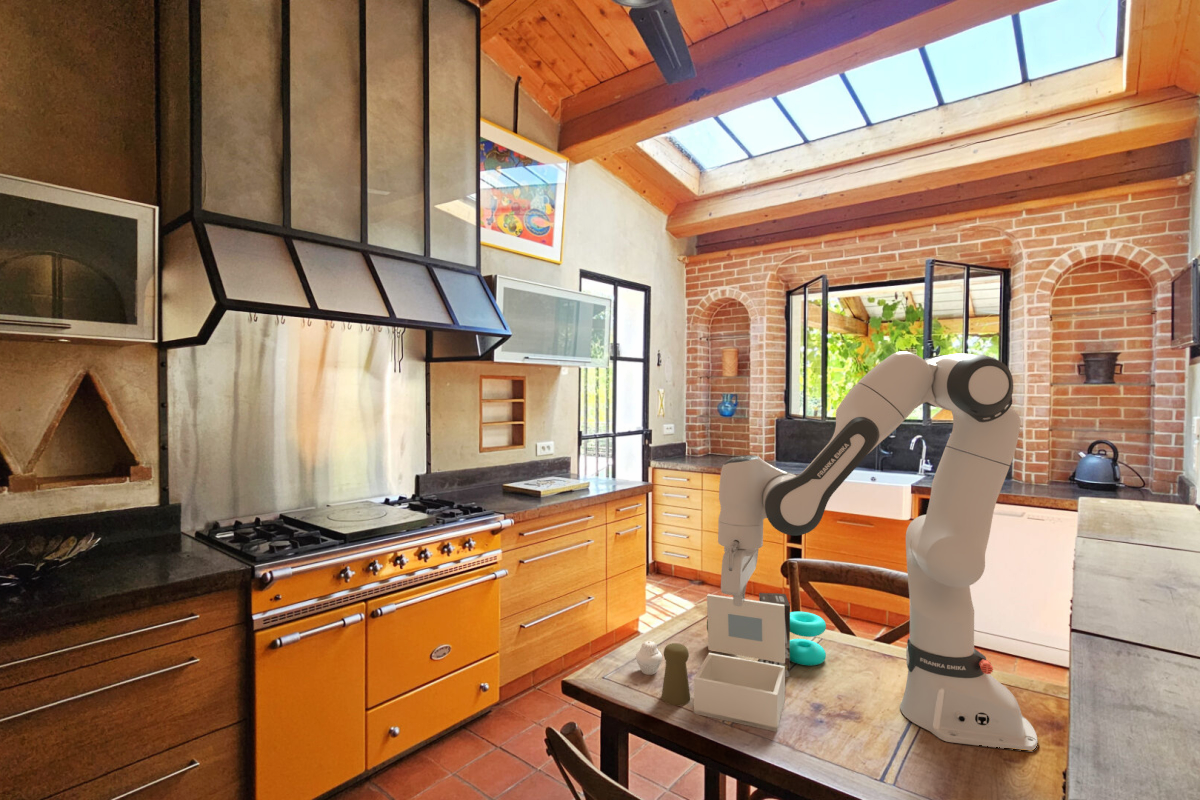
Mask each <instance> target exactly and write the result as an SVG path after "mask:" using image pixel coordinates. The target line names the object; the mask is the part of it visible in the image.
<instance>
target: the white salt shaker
mask: <svg viewBox="0 0 1200 800" xmlns="http://www.w3.org/2000/svg"><path fill="white" fill-rule="evenodd" d="M635 659H636V662H637V665H638V667H639V669H640V671H641V673H642V674H644V675H647V676H650V675H651V676H652V675H655V674H656V673H657V671H658V669H659V667H660V665H662V661H663V654H662V653H661V651H660V650H659V649H658V647H657V644H656V643H655V642H654V641H647V640H646V641H643V643H642V644H641V647H640V649H639V650H637V651H636V653H635Z"/></svg>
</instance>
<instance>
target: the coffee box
mask: <svg viewBox="0 0 1200 800" xmlns="http://www.w3.org/2000/svg"><path fill="white" fill-rule="evenodd" d="M758 595H759V596H758V601H761V602H769V603H776V604H783V605H784V608H785V663H780V662H774V661H768V660H763V659H758V660H759V662H764V663H769V664H775V665H780V666H785V678H789V677H790V662H791V661H790V640H791V637H790V636H791V635H790V634H791V632H790V612H791V604H790V602H789V600H788V597H787V594H786V593H778V592H777V593H775V592H774V593H773V592H768V593H767V592H759V593H758Z"/></svg>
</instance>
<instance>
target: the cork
mask: <svg viewBox="0 0 1200 800" xmlns="http://www.w3.org/2000/svg"><path fill="white" fill-rule="evenodd" d="M663 658H664V660H665V667H664V668H665V669H664V675H663V681H662V684H663V685H662V690H661V691H662V692H661V700H662V701H663V702H664V703H666V704H668V705H671V706H683V705H687V704H689V703H690V702H691V693H690V692H691V691H690V684H689V676H688V675H689V674H688V668H687V663H688V660H689V650H688V648H687V646H685V645H684V644H682V643H679V642H678V643H677V642H674V643H669V644H667V645H666V646H665V647H664V649H663Z"/></svg>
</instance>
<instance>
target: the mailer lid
mask: <svg viewBox="0 0 1200 800" xmlns="http://www.w3.org/2000/svg"><path fill="white" fill-rule="evenodd" d="M706 606H707V607H706V609H707V619H708V631H707V639H708V641H707V643H708V651H711V652H712V651H714V652H718V653H724V654H729V655H735V656H741V657H746V658H753V659H758V660H759V659H763V660H768V661H774V662H780V663H785V608H784V605H783V604H776V603H769V602H761V601H759V600H755V599H754V600H753V599H752V600H751V599H746V598H745V601H744V603H743V605H742V606H735V605H734V604H733V596H724V595H718V594H710V593H708V594H707V595H706Z"/></svg>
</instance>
